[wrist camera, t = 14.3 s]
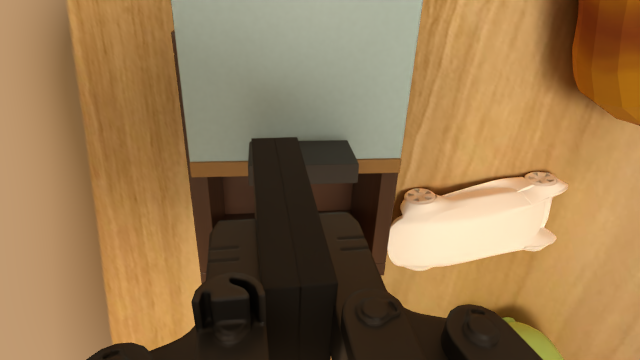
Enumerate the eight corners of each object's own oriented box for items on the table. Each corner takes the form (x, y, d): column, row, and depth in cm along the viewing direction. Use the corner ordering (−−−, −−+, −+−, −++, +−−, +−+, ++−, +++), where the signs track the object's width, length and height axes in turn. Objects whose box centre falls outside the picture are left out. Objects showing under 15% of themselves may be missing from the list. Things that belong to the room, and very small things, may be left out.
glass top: (193, 170, 26) (181, 205, 22) (150, -206, 18) (119, -252, 14) (395, 166, 28) (416, 198, 24) (442, -178, 19) (487, -212, 16)
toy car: (555, 167, 41) (587, 189, 37) (542, 231, 44) (570, 258, 40) (378, 192, 39) (391, 218, 35) (379, 257, 43) (391, 286, 39)
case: (213, 219, 39) (201, 285, 31) (194, 13, 30) (170, 31, 22) (359, 214, 40) (384, 275, 32) (379, 19, 32) (417, 37, 24)
